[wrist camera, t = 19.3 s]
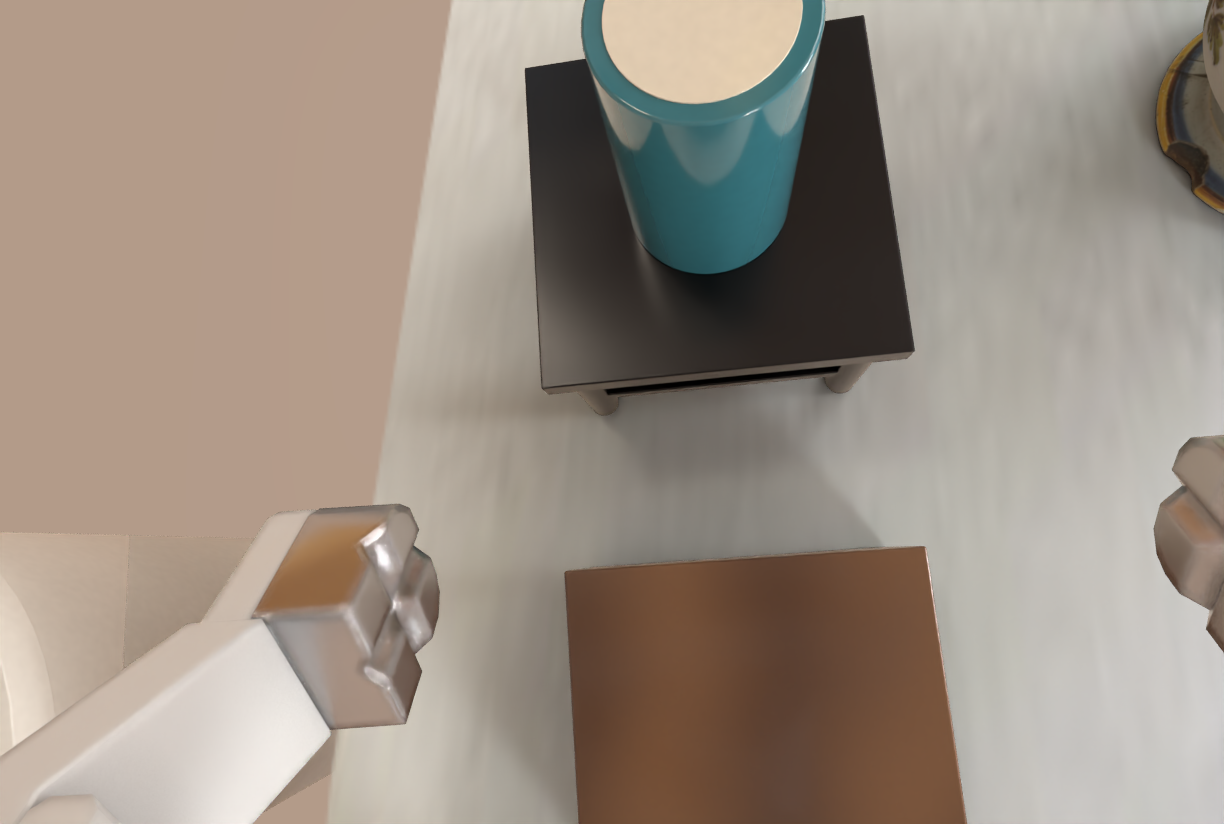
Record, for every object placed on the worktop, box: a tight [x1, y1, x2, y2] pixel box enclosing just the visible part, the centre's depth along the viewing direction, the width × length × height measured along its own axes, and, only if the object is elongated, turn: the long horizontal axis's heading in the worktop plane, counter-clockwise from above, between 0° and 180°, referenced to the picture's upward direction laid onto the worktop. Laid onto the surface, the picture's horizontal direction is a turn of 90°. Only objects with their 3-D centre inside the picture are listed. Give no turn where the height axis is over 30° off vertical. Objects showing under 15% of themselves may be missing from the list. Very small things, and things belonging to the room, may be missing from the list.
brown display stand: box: [565, 546, 967, 824], centre depth 27 cm, size 12×12×6 cm
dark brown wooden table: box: [525, 15, 915, 416], centre depth 29 cm, size 12×12×8 cm
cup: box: [581, 0, 826, 274], centre depth 21 cm, size 5×5×9 cm
